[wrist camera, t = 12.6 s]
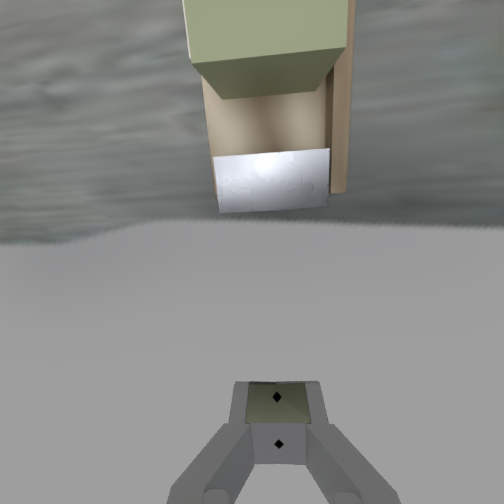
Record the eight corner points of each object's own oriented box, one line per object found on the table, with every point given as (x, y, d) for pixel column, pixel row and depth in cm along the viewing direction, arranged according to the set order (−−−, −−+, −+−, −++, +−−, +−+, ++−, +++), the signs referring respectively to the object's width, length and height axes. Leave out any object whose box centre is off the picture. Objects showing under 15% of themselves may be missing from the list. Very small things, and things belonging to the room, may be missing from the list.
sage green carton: (315, 91, 21) (346, 47, 13) (220, 100, 22) (188, 63, 13) (316, 29, 20) (351, -67, 11) (214, 41, 20) (175, -42, 12)
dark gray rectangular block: (311, 150, 22) (329, 148, 16) (311, 193, 23) (328, 207, 17) (229, 156, 23) (213, 157, 16) (233, 198, 24) (219, 213, 17)
